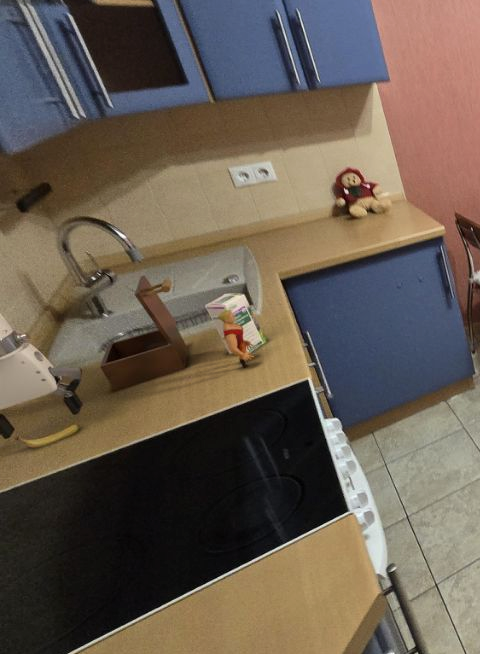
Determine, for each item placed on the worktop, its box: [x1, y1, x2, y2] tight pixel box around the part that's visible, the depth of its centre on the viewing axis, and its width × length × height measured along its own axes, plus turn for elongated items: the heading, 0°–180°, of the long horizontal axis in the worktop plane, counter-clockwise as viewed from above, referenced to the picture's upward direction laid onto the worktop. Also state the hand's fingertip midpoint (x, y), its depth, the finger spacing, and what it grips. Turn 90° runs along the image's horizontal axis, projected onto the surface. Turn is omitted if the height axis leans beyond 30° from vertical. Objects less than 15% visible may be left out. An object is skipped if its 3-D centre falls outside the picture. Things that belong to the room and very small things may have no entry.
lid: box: [134, 275, 177, 344], centre depth 125 cm, size 13×13×5 cm
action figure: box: [218, 310, 255, 369], centre depth 123 cm, size 10×4×15 cm, turn 35°
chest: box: [99, 324, 189, 392], centre depth 126 cm, size 13×13×7 cm
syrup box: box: [204, 292, 267, 355], centre depth 129 cm, size 6×6×14 cm
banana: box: [14, 424, 80, 449], centre depth 104 cm, size 8×2×4 cm, turn 133°
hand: (44, 422), depth 103 cm, fingers open, 9 cm apart
